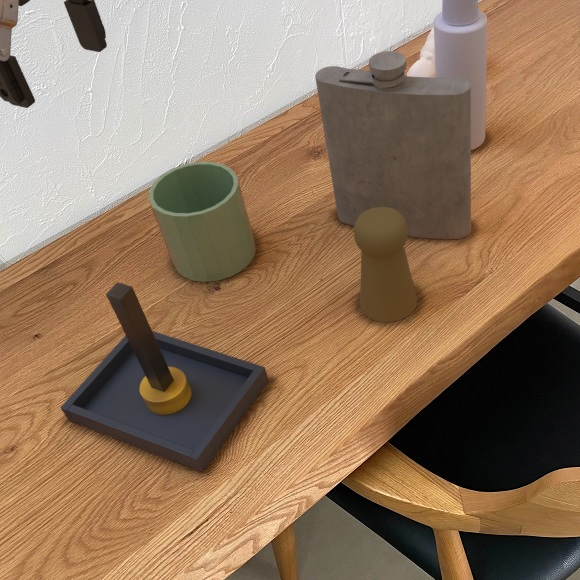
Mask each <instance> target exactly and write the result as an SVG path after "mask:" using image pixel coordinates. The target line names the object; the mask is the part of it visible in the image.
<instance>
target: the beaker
mask: <svg viewBox="0 0 580 580" xmlns="http://www.w3.org/2000/svg"><path fill="white" fill-rule="evenodd" d="M148 202H149V205H150V207H151V209H152V210H151V211H152V213H153V215H154V217H155V220H156V223H157V226H158V228H159V231H160V234H161V237H162V238H163V241H164V244H165V246H166V249H167V251H168V255H169V257H170V260H171V262H172V264H173V267H174V269H175V270H176V272H177V273H178V274H179V275H180V276H182V277H184V278H186V279H188V280H190V281H195V282H198V283H199V282H201V283H209V282H210V283H211V282H212V283H213V282H218V281H222V280H226V279H229V278H231V277H234V276H235V275H237V274H239V273H240V272H241V271H244V270H245V269H246V268H247V267H248V266H249V265H250V263H251V262H252V261H253V259H254V257H255V256H256V255H255V254H256V251H257V250H256V248H257V246H256V242H255V237H254V232H253V229H252V226H251V221H250V218H249V213H248V210H247V206H246V204H245V199H244V196H243V191H242V189H241V184H240V181H239V177H238V175H237V174H236V172H235V171H234V170H233V169H232V167H229V166H228V165H225V164H224V163H219V162H216V161H195V162H189V163H184V164H181V165H178V166H176V167H173V168H171V169H169V170H167V171H166V172H164V173H163V174H161V175H160V176H158V177H157V179H156V180H155V181H153V183H152V184H151V187H150V189H149V190H148Z"/></svg>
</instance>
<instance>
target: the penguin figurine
mask: <svg viewBox="0 0 580 580" xmlns="http://www.w3.org/2000/svg"><path fill="white" fill-rule="evenodd" d="M406 76H409V77H431V78H436V77H435V49H434V25H433V26H432V27H431V30H430V32H429V33H428V35H427V37H426V40H425V42H424V45H423V46H422V47H421V49H420V52H419V59H418V60H416V61H415V62H414V63H413V64H412V65H411V67H410V68H408V71H407V73H406Z"/></svg>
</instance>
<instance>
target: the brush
mask: <svg viewBox="0 0 580 580" xmlns="http://www.w3.org/2000/svg"><path fill="white" fill-rule="evenodd" d="M133 287H134V286H132V285H129V284H125V283H122V282H120V281H118V282H117V281H116V282H115V284H114V285H113V286H112V287H111V288H110V289H109V290H108V291H107V292H106V293H105V296H106V298H107V299H108V301H109V304H110V305H111V308H112V310H113V312H114V314H115V316H116V318H117V320H118V323H119V324H120V326H121V329H122V330H123V333H124V334H125V335H126V337H127V339H128V341H129V343H130V345H131V347H132V349H133V351H134V353H135V355H136V357H137V359H138V361H139V363H140V365H141V368H142V370H143V372H144V374H145V377H144V378H143V380H142V382H141V384H140V394H141V396H142V398H143V400H144V402H145V404H146V406H147V408H148V409H149V410H150V411H151V412H153V413H155V414H158V415H169V414H173V413H176V412H178V411H179V410H181V409H182V408H184V407H185V406H186V405H187V404H188V402H189V400H190V398H191V388H190V386H189V383H188V381H187V379H186V376H185V374H184V373H183V372H182V371H181V370H180V369H178V368H175V367H168V366H167V363H166V361H165V359H164V357H163V354H162V352H161V350H160V348H159V345H158V343H157V341H156V339H155V336H154V334H153V332H152V331H153V330H152V328H151V325H150V322H149V321H148V319H147V317H146V314H145V312H144V309H143V307H142V305H141V303H140V300H139V298H138V296H137V294H136V291H135V290H134V288H133ZM125 335H124V336H125Z"/></svg>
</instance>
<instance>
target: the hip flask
mask: <svg viewBox="0 0 580 580" xmlns="http://www.w3.org/2000/svg"><path fill="white" fill-rule="evenodd" d="M407 66H408V65H407V56H406V55H404V54H403V53H402V52H399V51H395V50H393V51H392V50H387V51H381V52H380V51H379V52H377V53H375V54H373V55H371V57H370V58H369V59H368V68H369V69H368V70H367V69H355V68H346V67H343V66H338V65H329V66H325V67H322V68H320V69H319V70H318V71H316V73H315V75H314V77H315V83H316V89H317V90H316V91H317V96H318V102H319V108H320V114H321V121H322V127H323V133H324V140H325V145H326V152H327V157H328V163H329V164H328V165H329V170H330V176H331V177H330V178H331V182H332V188H333V189H332V190H333V195H334V200H335V207H336V213H337V219H338V220H339V221H340V222H341V223H343V224H346V225H349V226H351V227H354V226H355V223H356V221H357V219H358V217H359V216H360V215H361V214H362V213H363V212H365V211H367V210H369V209H372V208H376V207H389V208H392V209H395V210H396V211H398V212H399V213H400V214H401V215H402V216H403V217H404V219H405V221H406V223H407V228H408V236H407V237H411V238H421V239H436V240H461V239H464V238H466V237H468V236H469V235H470V234H471V232H472V150H471V84H470V82H469V81H467V80H466V79H463V78H458V77H450V78H431V77H409V76H407V75H406V74H405V71H406V69H407Z"/></svg>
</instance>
